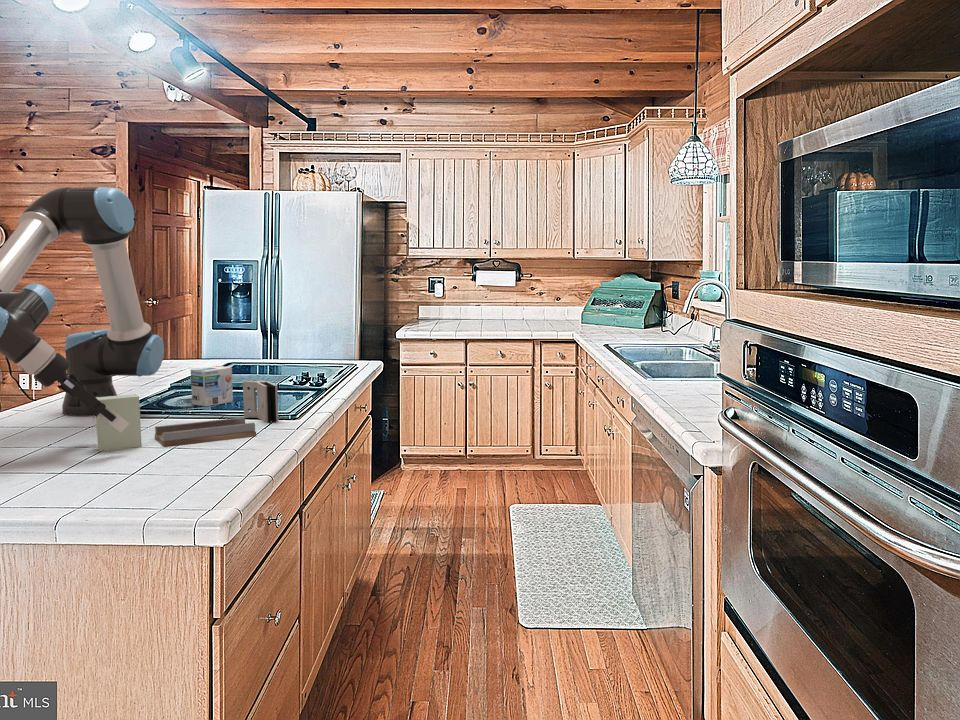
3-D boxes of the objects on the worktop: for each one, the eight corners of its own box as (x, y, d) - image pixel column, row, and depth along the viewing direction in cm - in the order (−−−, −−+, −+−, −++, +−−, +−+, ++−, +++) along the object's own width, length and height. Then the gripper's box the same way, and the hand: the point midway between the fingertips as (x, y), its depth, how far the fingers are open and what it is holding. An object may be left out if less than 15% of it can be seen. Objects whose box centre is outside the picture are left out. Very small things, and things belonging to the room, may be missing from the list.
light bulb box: (205, 407, 249) (204, 371, 247) (190, 404, 252) (189, 369, 251) (234, 401, 258) (232, 366, 256) (219, 399, 261) (218, 365, 260)
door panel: (97, 447, 198) (94, 397, 196) (138, 443, 203) (135, 394, 201) (100, 451, 194) (97, 400, 193) (141, 446, 199) (139, 396, 198)
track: (154, 437, 208) (154, 426, 207) (243, 427, 220) (242, 416, 219) (164, 446, 199) (164, 434, 198) (256, 435, 210) (255, 424, 210)
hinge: (243, 416, 235) (242, 380, 234) (260, 413, 239) (259, 378, 238) (268, 423, 225) (267, 386, 224) (285, 421, 229) (284, 384, 228)
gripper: (27, 369, 197) (100, 425, 207) (36, 384, 176) (117, 445, 186) (51, 346, 199) (122, 402, 209) (63, 357, 178) (141, 419, 188)
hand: (120, 422), depth 197 cm, fingers open, 13 cm apart
